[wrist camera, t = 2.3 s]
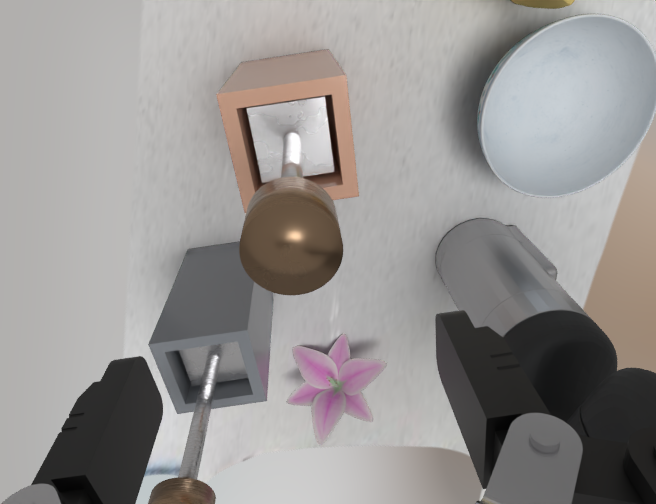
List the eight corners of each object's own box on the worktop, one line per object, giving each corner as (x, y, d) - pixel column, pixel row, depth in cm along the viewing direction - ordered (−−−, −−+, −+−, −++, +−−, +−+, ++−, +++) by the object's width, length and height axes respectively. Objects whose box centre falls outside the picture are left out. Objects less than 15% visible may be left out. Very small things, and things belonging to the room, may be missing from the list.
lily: (392, 334, 60) (386, 355, 51) (381, 421, 61) (372, 457, 52) (304, 319, 63) (282, 336, 53) (294, 403, 64) (271, 434, 54)
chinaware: (637, 73, 45) (698, 86, 38) (527, 195, 51) (563, 226, 44) (530, -27, 40) (577, -31, 34) (422, 120, 46) (444, 141, 39)
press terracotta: (328, 49, 42) (346, 75, 28) (338, 135, 46) (359, 196, 32) (241, 62, 42) (216, 94, 28) (259, 147, 46) (244, 213, 32)
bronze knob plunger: (324, 95, 31) (351, 179, 17) (333, 169, 33) (364, 297, 19) (247, 106, 31) (208, 200, 17) (262, 179, 33) (240, 315, 19)
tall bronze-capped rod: (237, 328, 40) (205, 514, 25) (249, 372, 42) (227, 564, 28) (177, 337, 40) (112, 527, 25) (193, 381, 42) (142, 576, 28)
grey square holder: (259, 238, 51) (247, 330, 37) (273, 297, 55) (266, 400, 41) (188, 249, 51) (148, 344, 37) (206, 307, 55) (177, 413, 41)
